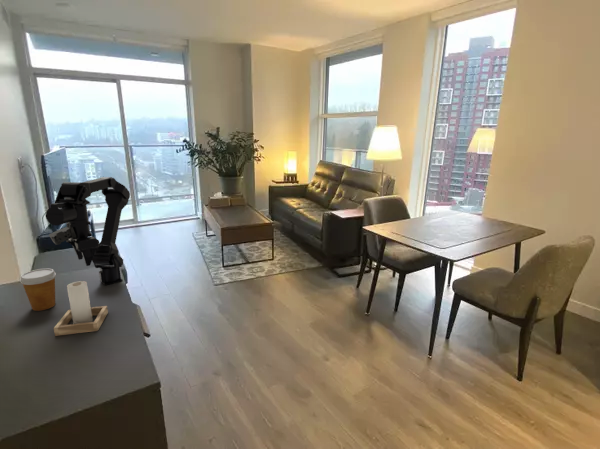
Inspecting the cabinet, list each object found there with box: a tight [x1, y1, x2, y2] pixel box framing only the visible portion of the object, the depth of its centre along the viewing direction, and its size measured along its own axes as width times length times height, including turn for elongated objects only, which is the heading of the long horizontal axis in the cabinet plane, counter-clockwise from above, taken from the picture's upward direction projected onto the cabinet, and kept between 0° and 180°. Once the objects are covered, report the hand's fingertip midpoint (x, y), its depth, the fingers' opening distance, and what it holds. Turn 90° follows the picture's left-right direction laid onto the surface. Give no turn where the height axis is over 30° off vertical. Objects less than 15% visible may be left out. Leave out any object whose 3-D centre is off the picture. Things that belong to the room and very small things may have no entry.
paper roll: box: [66, 280, 94, 324], centre depth 101 cm, size 5×5×13 cm
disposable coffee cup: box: [19, 268, 57, 312], centre depth 111 cm, size 10×10×12 cm
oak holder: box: [53, 305, 109, 337], centre depth 102 cm, size 11×11×2 cm
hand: (84, 262), depth 117 cm, fingers open, 9 cm apart
